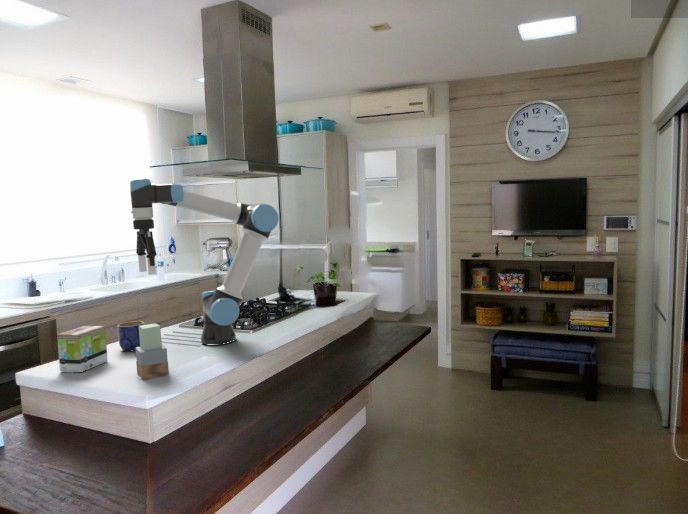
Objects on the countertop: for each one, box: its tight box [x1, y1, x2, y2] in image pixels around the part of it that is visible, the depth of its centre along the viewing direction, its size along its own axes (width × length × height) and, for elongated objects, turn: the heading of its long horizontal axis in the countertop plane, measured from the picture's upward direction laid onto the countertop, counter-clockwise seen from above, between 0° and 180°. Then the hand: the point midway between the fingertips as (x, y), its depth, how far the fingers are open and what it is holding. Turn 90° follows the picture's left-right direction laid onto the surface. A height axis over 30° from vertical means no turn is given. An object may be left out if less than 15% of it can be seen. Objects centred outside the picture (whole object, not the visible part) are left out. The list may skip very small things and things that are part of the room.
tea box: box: [57, 325, 108, 373], centre depth 199 cm, size 15×10×15 cm
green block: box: [139, 322, 163, 351], centre depth 185 cm, size 6×6×8 cm
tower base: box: [135, 360, 170, 381], centre depth 186 cm, size 9×9×5 cm
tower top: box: [135, 343, 169, 367], centre depth 186 cm, size 9×9×5 cm
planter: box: [116, 320, 145, 352], centre depth 223 cm, size 11×11×11 cm
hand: (147, 273), depth 203 cm, fingers open, 13 cm apart
